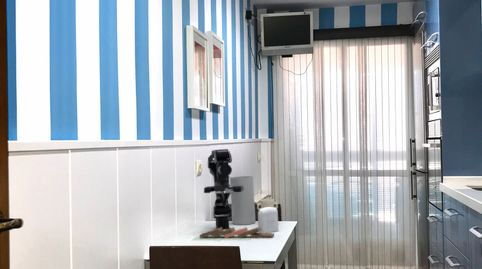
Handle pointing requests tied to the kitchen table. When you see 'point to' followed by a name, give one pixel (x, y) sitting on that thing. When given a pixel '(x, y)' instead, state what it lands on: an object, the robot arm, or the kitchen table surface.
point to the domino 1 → (211, 232)
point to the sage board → (223, 238)
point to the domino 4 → (262, 235)
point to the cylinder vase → (243, 201)
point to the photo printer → (268, 220)
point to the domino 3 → (249, 232)
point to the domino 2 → (223, 232)
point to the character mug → (267, 203)
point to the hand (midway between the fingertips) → (224, 206)
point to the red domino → (236, 232)
